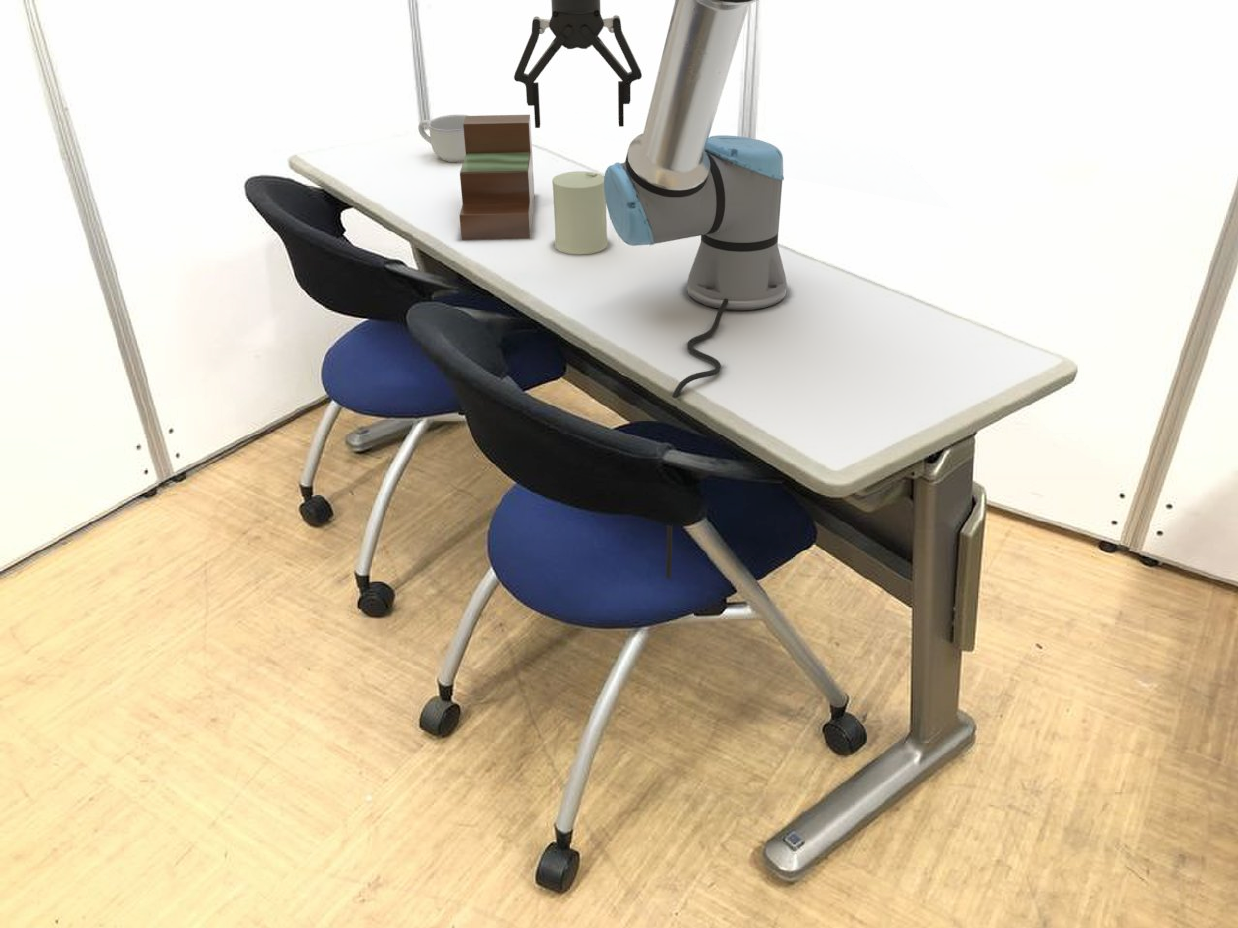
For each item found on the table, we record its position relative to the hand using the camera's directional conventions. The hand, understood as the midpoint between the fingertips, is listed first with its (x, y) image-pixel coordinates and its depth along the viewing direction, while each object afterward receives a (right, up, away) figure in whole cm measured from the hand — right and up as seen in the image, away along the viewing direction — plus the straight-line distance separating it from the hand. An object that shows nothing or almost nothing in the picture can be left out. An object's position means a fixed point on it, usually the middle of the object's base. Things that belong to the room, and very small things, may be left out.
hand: (579, 125), depth 171 cm
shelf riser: (-16, -10, +23) cm, 29 cm away
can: (0, -18, +10) cm, 20 cm away
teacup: (-30, +11, +57) cm, 65 cm away
